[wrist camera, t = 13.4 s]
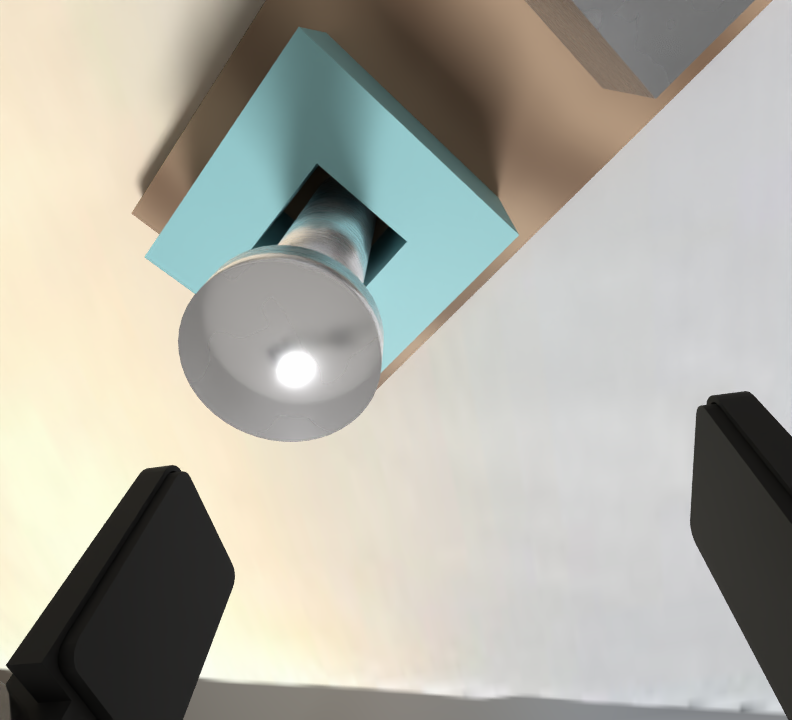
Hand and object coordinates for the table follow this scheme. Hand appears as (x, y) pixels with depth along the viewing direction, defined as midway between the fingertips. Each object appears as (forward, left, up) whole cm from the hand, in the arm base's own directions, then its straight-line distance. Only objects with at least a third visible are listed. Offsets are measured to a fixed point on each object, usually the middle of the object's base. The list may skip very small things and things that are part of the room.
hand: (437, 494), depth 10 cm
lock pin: (+2, -3, -18) cm, 19 cm away
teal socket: (+2, -3, -18) cm, 19 cm away
